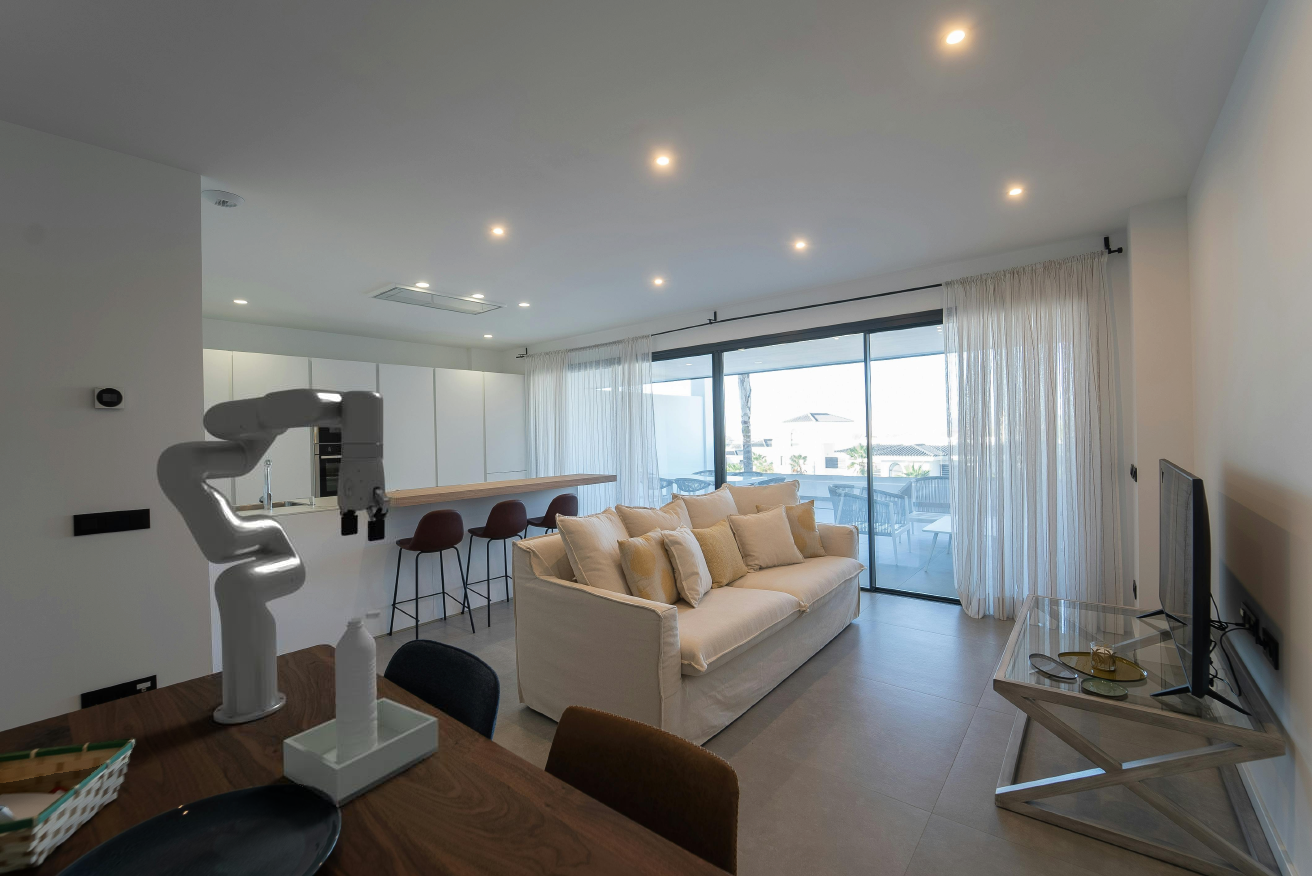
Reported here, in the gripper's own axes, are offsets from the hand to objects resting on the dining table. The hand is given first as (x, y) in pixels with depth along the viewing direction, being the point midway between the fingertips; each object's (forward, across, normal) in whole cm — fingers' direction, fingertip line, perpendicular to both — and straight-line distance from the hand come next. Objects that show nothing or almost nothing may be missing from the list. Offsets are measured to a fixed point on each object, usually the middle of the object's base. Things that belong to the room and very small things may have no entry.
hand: (362, 537), depth 116 cm
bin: (+38, +14, -8) cm, 41 cm away
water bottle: (+37, +13, -8) cm, 40 cm away
